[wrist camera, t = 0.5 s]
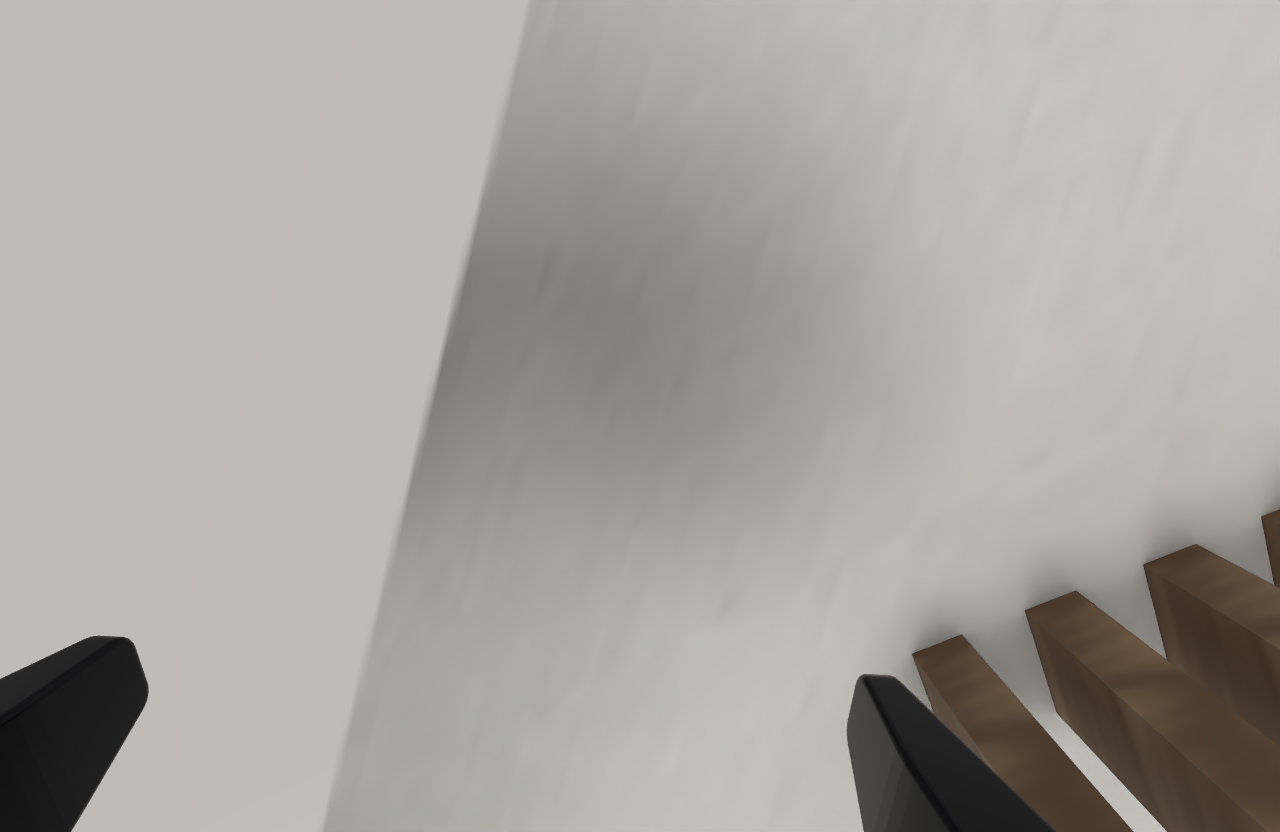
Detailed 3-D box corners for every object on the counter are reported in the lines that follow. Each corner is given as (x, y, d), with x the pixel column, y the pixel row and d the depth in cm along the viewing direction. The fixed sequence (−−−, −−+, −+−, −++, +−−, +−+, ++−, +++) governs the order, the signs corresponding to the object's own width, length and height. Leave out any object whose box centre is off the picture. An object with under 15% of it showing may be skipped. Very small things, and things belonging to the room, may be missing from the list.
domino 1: (949, 753, 26) (1141, 1050, 17) (912, 654, 25) (1096, 914, 15) (996, 734, 26) (1219, 1025, 17) (962, 634, 25) (1180, 885, 15)
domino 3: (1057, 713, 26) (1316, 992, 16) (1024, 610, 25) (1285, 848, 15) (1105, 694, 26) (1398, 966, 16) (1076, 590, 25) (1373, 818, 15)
